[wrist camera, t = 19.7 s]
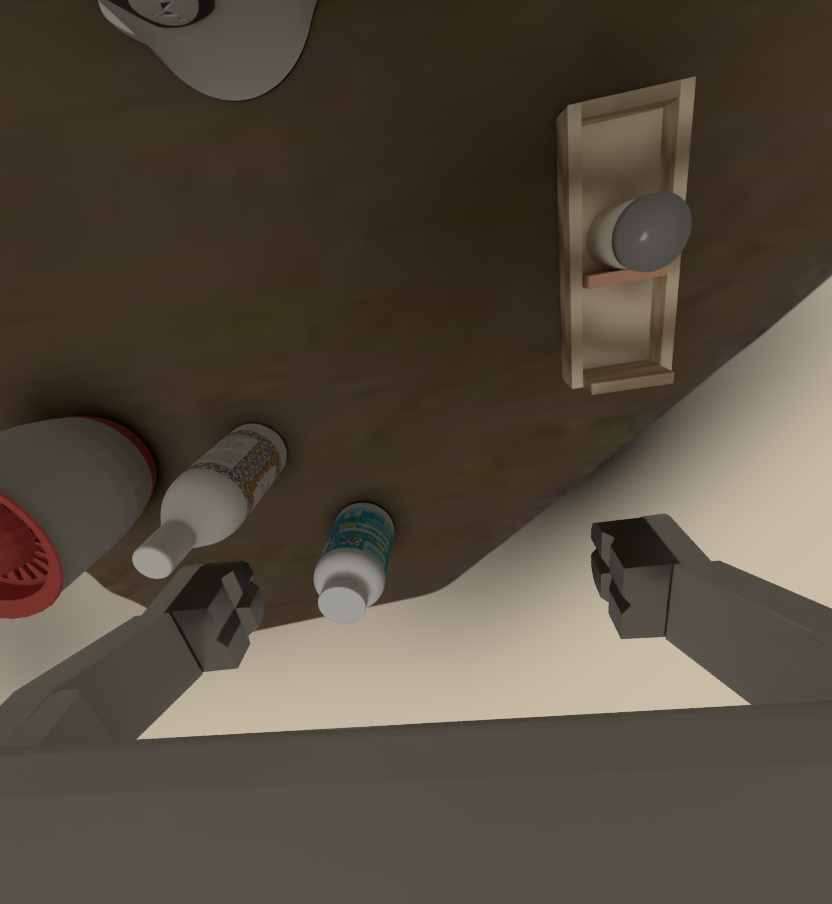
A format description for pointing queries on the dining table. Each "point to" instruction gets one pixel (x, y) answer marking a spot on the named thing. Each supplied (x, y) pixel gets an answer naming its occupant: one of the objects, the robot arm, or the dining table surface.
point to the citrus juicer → (64, 503)
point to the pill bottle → (354, 562)
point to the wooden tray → (588, 193)
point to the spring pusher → (618, 277)
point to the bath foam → (212, 497)
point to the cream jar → (640, 232)
